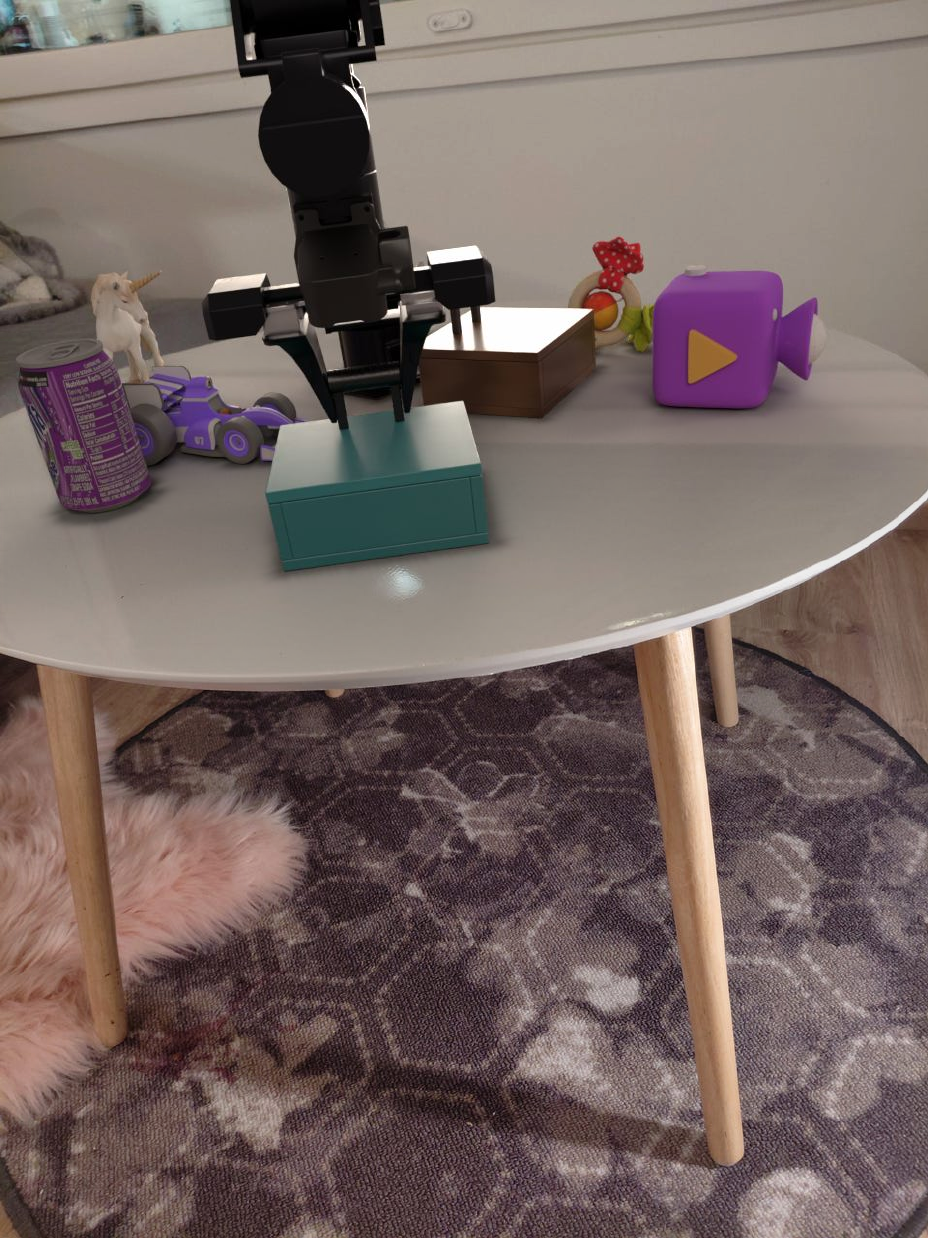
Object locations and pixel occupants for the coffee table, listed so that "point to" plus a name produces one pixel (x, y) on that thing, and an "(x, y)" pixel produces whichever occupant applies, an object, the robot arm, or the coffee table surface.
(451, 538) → the teal box
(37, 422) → the beverage can
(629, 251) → the bird rattle
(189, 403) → the toy race car
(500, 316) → the lid
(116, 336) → the unicorn figurine
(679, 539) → the coffee table surface
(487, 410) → the box
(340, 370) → the lid
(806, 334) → the toy camera
